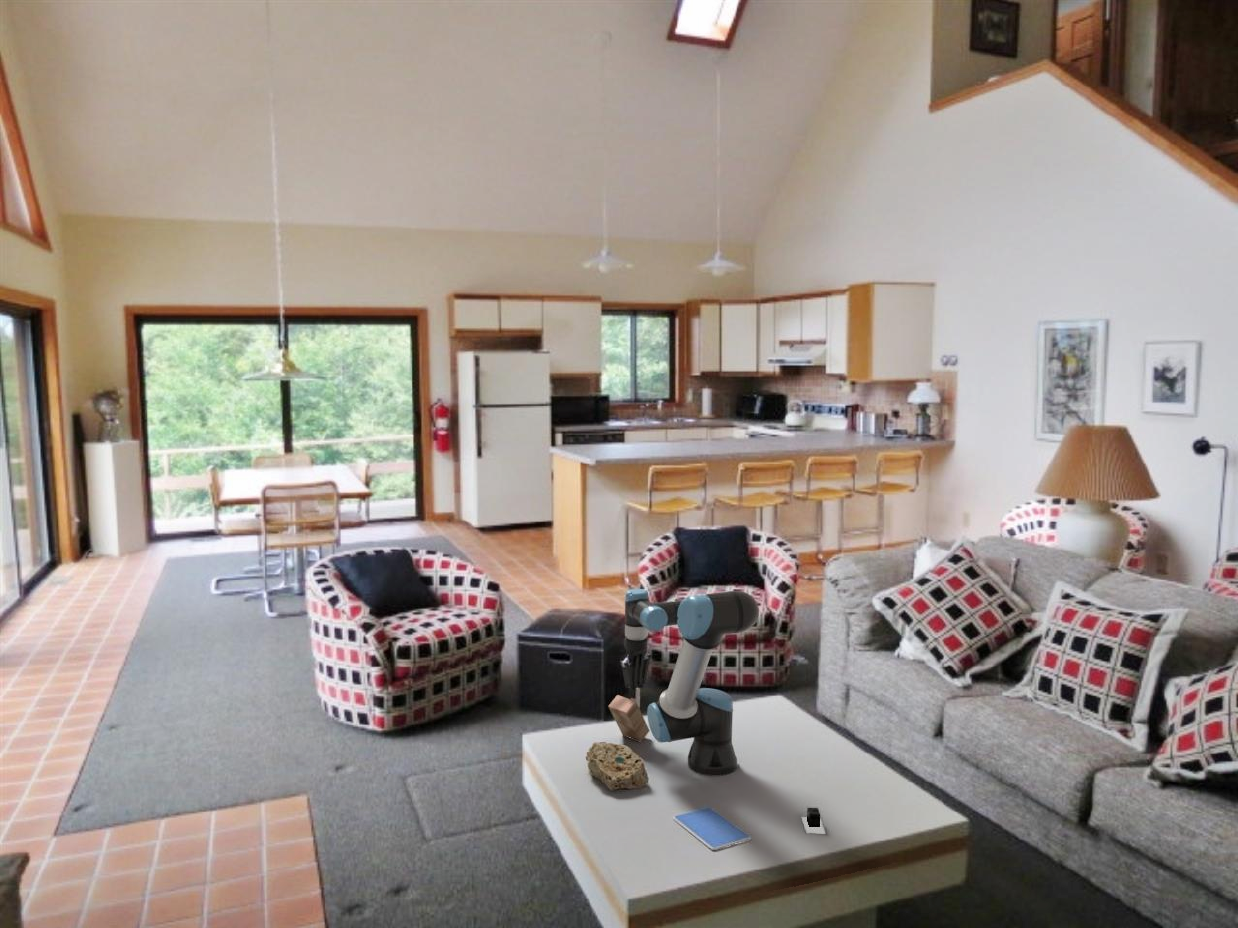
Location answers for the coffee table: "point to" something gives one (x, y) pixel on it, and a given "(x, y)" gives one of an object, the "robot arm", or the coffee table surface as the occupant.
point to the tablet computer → (711, 828)
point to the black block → (813, 817)
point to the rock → (616, 766)
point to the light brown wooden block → (629, 718)
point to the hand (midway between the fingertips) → (635, 706)
